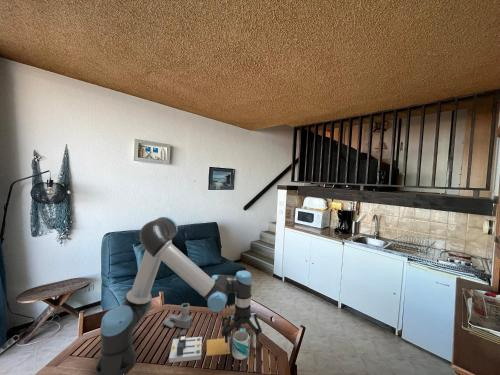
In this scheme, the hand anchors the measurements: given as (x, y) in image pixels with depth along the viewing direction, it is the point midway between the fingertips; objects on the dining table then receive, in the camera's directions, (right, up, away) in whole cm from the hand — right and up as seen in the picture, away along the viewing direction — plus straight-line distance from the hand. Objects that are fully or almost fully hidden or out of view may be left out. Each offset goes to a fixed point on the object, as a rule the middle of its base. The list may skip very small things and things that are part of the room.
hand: (241, 347), depth 109 cm
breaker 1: (-29, +2, +1) cm, 29 cm away
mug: (0, -1, 0) cm, 1 cm away
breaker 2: (-28, +2, -3) cm, 28 cm away
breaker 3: (-28, +2, -7) cm, 29 cm away
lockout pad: (-11, -1, +1) cm, 11 cm away
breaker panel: (-26, 0, -2) cm, 26 cm away
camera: (-36, +1, +17) cm, 40 cm away
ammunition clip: (-6, 0, +17) cm, 18 cm away
